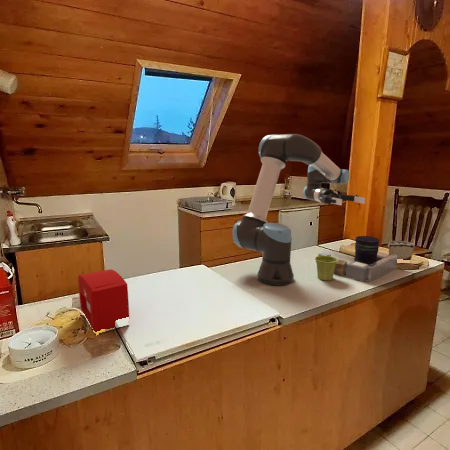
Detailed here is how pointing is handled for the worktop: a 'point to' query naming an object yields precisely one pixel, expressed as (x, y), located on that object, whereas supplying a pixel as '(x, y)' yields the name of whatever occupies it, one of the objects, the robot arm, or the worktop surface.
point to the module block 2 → (381, 256)
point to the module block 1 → (356, 270)
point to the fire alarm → (103, 298)
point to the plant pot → (325, 267)
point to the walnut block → (340, 267)
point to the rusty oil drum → (366, 249)
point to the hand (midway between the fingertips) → (353, 201)
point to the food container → (401, 249)
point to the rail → (381, 267)
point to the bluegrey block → (324, 254)
